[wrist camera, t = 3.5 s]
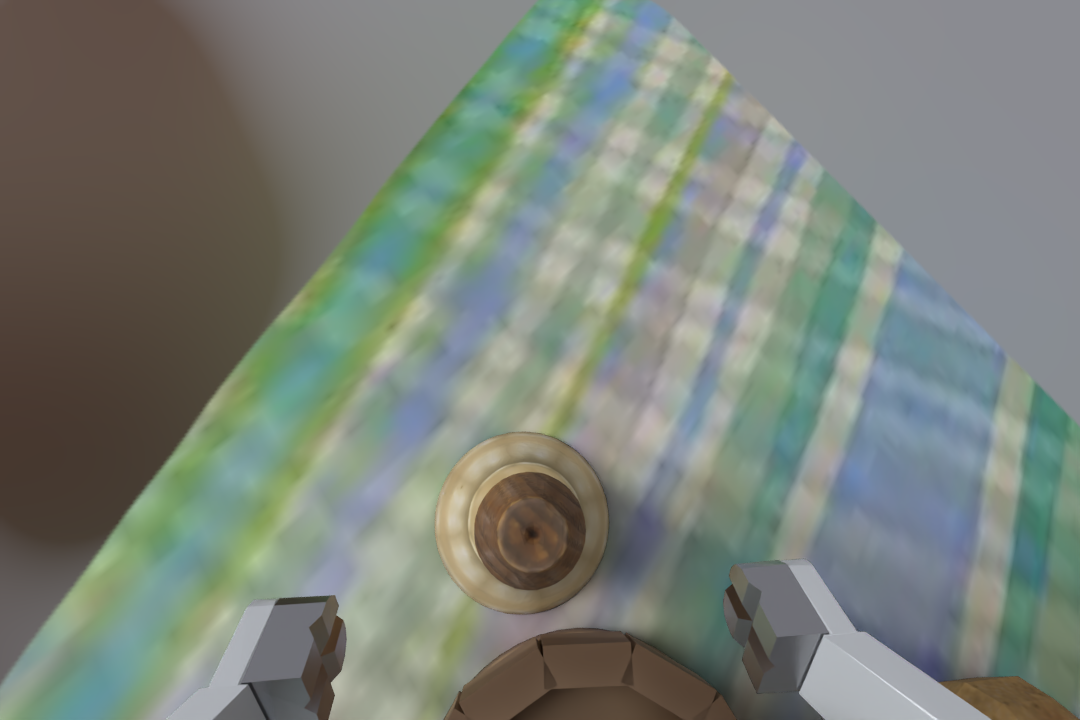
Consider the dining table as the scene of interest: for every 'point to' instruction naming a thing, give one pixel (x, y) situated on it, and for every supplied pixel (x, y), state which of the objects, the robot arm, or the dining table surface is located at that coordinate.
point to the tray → (587, 682)
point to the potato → (1008, 699)
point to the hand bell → (521, 523)
